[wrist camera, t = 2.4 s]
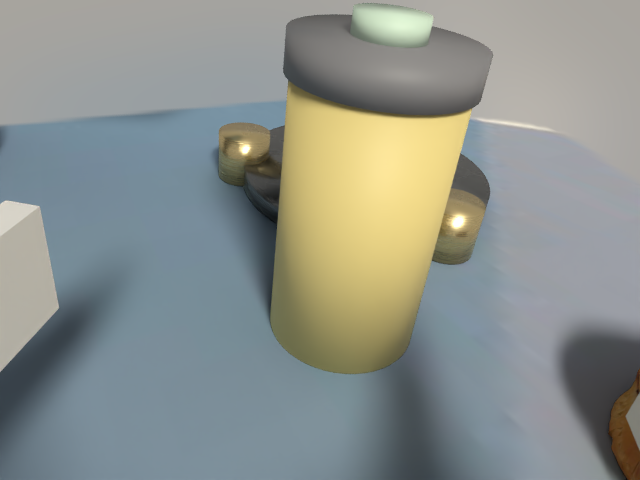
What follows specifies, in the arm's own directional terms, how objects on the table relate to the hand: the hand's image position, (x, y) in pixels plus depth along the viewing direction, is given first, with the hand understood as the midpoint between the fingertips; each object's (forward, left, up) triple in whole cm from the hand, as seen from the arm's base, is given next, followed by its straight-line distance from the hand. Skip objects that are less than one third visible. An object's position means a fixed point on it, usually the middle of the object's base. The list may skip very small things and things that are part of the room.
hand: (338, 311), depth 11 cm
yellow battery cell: (-3, +9, -9) cm, 13 cm away
